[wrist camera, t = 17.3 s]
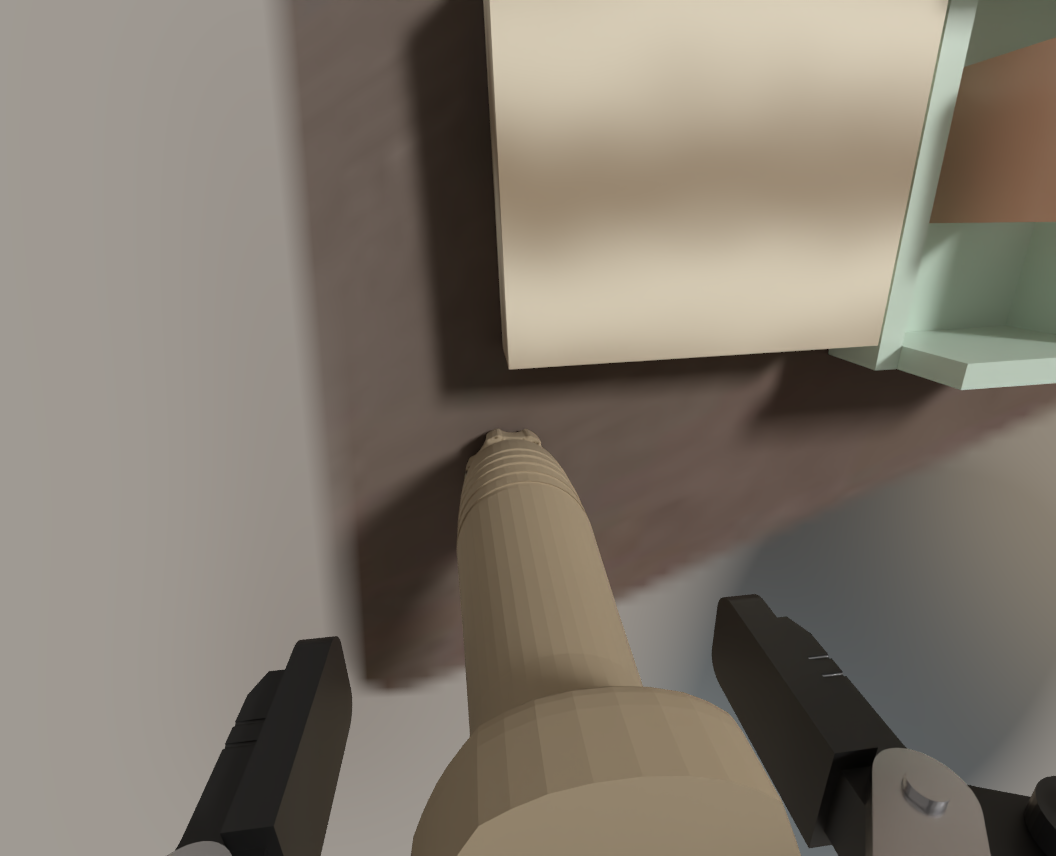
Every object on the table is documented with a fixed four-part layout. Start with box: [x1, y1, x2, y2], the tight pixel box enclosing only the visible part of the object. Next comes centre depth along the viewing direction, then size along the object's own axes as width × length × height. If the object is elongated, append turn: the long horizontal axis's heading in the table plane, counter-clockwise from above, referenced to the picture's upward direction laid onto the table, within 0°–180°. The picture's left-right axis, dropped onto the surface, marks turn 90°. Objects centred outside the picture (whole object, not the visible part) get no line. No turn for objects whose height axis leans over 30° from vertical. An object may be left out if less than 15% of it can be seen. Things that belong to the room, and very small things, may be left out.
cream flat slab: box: [483, 0, 948, 370], centre depth 16 cm, size 11×12×3 cm
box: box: [828, 0, 1056, 390], centre depth 16 cm, size 12×8×5 cm, turn 2°
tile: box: [929, 37, 1056, 223], centre depth 15 cm, size 4×4×2 cm
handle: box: [411, 429, 801, 856], centre depth 13 cm, size 5×6×15 cm
